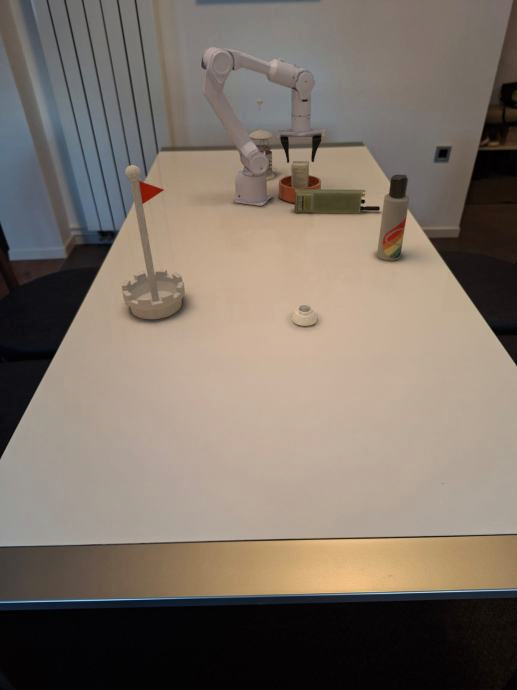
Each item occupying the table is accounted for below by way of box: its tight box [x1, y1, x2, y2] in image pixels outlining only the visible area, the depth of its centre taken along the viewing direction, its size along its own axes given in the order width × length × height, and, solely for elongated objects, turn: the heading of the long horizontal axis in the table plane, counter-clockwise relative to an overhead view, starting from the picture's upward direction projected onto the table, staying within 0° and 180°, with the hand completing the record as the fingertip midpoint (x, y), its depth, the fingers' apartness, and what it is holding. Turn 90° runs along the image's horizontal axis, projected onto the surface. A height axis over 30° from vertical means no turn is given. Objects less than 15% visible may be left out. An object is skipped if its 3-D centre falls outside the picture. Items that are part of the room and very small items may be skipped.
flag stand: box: [121, 164, 186, 320], centre depth 99 cm, size 13×13×30 cm
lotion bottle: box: [376, 174, 410, 262], centre depth 118 cm, size 6×6×20 cm
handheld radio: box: [294, 188, 381, 214], centre depth 146 cm, size 7×3×25 cm
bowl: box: [278, 174, 322, 204], centre depth 157 cm, size 13×13×5 cm
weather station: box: [248, 98, 276, 181], centre depth 170 cm, size 10×12×25 cm
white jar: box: [291, 304, 318, 327], centre depth 101 cm, size 5×3×5 cm
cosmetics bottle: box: [290, 160, 310, 188], centre depth 156 cm, size 5×4×10 cm
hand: (300, 161), depth 155 cm, fingers open, 7 cm apart
